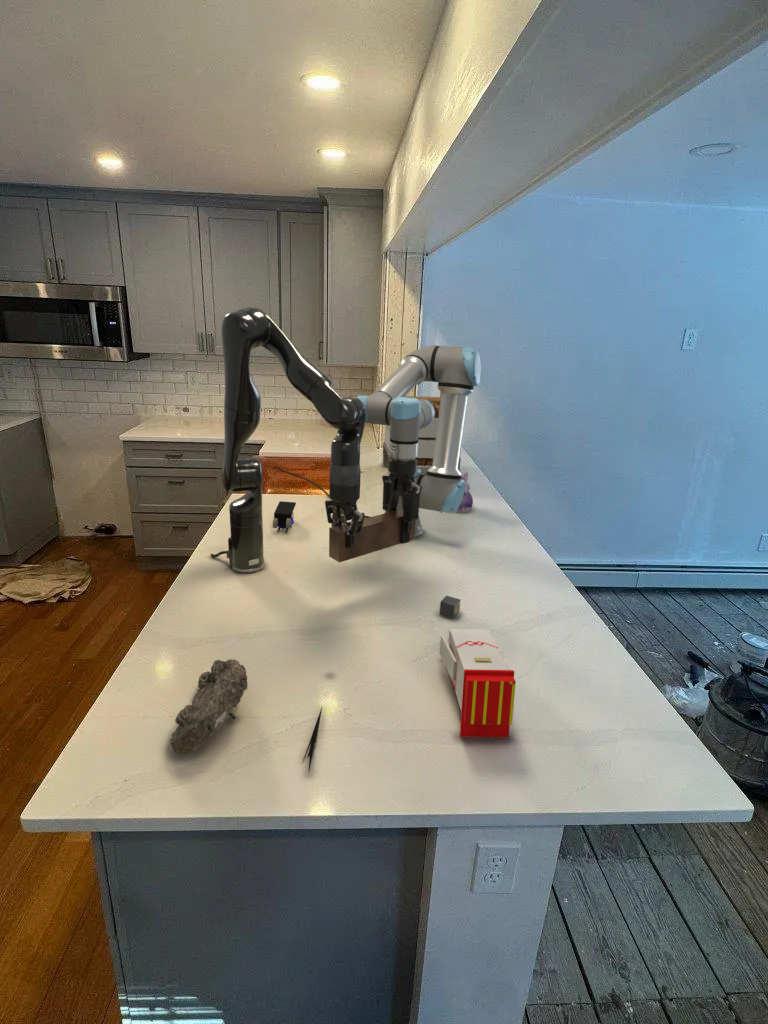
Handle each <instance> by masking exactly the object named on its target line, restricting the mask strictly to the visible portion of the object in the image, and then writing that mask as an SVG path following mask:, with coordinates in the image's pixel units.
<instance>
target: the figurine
mask: <svg viewBox="0 0 768 1024" xmlns="http://www.w3.org/2000/svg"><path fill="white" fill-rule="evenodd" d="M468 479H469V473H468V472H465V473H464V474H463V476H462V475H461V480H463V481H465V491H464V495H463V499H462V501H461V504H460V506H459V508H458V509H457V511H455V512H454V513H462V514H463V513H468V512H470V511H471V510H472V509H473V505H474V499H473V496H472V494H471V492H470V489H471V487H470V484H469V482H468Z"/></svg>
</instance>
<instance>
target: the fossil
mask: <svg viewBox="0 0 768 1024" xmlns="http://www.w3.org/2000/svg"><path fill="white" fill-rule="evenodd" d="M197 683H198V684H197V687H198V690H197V691H196V693H195V694H194V697H193V698H192V701H191V704H187V705H185V706H184V707H183V708H182V709H181V710H179V712H178V713H177V715H176V717H175V719H174V721H175V723H176V725H177V726H176V728H175V730H174V731H173V732H172V733H171V735H170V736H171V738H170V747H171V750H172V751H176V752H178V753H186V752H190V751H193V752H195V751H197V750H198V749H199V748H200V747H201V746H202V745H203V744H204V743H205V742H207V741H208V740H209V739H210V737H211V736H212V735H213V734H215V733H216V731H218V730H219V729H220V728H221V726H222V725H223V723H224V721H225V720H226V719H227V718H228V717H230V718H232V720H235V719H236V716H235V715H234V714H233V713H232V710H233V709H235V708H237V706H238V705H239V704H240V702H241V700H242V698H243V696H244V693H245V691H246V690H247V689H248V686H249V685H248V675H247V669H246V668H245V666H244V665H243V664H241V663H240V661H238V660H237V659H236V658H234V659H232V658H230V659H226V660H221V659H216V660H214V661H213V662H212V665H211V667H210V671H208V670H207V671H205V672H201V674H200V675H199V676H198V681H197Z"/></svg>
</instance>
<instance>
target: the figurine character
mask: <svg viewBox="0 0 768 1024" xmlns="http://www.w3.org/2000/svg"><path fill="white" fill-rule="evenodd" d="M296 505H297V502H296V501H295V502H294V501H283V500H282V501H279V502H278V504H277V506H276V508H275V510H274V513H273V519H272V528H273V529H277V530H276V532H277V533H280V531H281V530H285V532H284V533H288V531H289V529H291V528H292V525H293V524H294V523H295V519H294V517H295V514H294V510H295V507H296Z"/></svg>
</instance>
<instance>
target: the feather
mask: <svg viewBox="0 0 768 1024" xmlns="http://www.w3.org/2000/svg"><path fill="white" fill-rule="evenodd" d="M329 675H330V676H331V675H332V674H331V673H330V674H329ZM322 710H323V707H321V708H320V710H319V713H318V716H317V719H316V723H315V725H314V728H313V731H312V733H311V737H310V739H309V742H308V745H307V748H306V751H305V754H304V757H303V760H302V763H301V767H302V765H303V763H304V761H305V758H308V759H309V760H308V762H307V763H308V764H307V766H308V771H310V770H311V766H312V765H311V764H312V760H313V757H315V756H314V755H315V751H316V749H315V746H317V739H318V733H319V729H320V722H321V717H322V712H323V711H322ZM313 754H314V755H313ZM306 755H307V757H306Z"/></svg>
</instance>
